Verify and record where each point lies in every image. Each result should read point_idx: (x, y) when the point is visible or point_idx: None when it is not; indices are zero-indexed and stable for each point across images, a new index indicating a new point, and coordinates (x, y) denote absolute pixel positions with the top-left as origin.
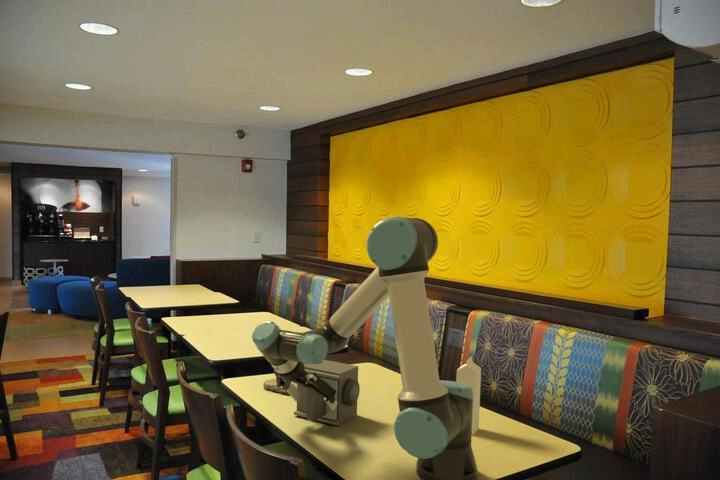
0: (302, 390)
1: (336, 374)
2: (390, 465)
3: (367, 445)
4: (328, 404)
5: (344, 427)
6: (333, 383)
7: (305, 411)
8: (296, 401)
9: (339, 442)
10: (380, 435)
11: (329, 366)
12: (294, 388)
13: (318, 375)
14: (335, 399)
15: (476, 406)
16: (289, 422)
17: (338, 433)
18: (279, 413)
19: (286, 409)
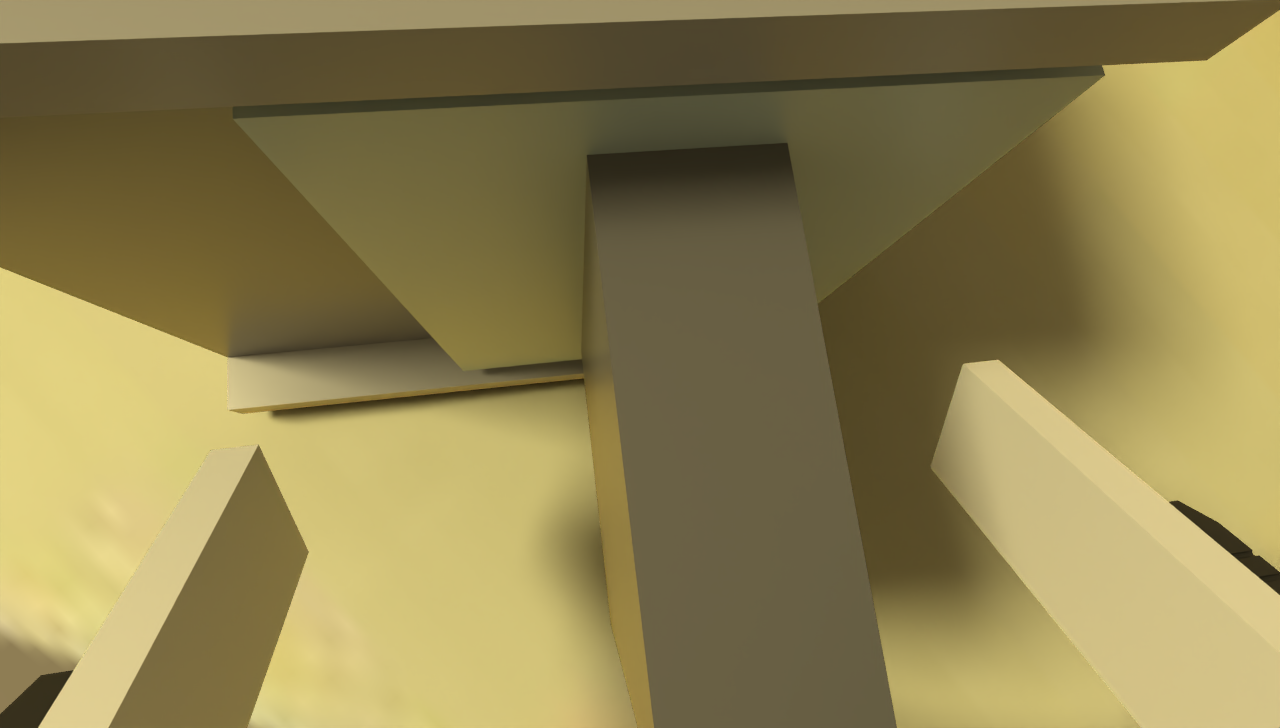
0: (139, 258)
1: None
2: None
3: (1216, 500)
4: (1052, 600)
5: (826, 315)
6: (968, 128)
7: (351, 340)
8: (298, 560)
9: (1032, 617)
10: (1136, 265)
11: None
12: (147, 719)
13: (515, 87)
14: (1181, 508)
15: None
16: (332, 575)
17: (885, 460)
18: (55, 452)
19: (45, 311)
